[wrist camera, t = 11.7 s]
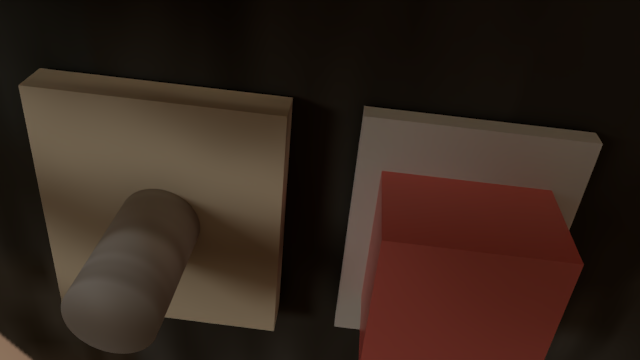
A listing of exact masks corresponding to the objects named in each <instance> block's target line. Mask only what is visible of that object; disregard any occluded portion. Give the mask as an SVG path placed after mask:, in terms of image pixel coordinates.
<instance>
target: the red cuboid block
mask: <svg viewBox="0 0 640 360" xmlns="http://www.w3.org/2000/svg"><path fill="white" fill-rule="evenodd" d="M583 266H584V264H583V262H582V259H581V257H580V255H579V252H578V250H577V248H576V245H575V243H574V241H573V238H572V236H571V234H570V231H569V229H568V227H567V224H566V222H565V220H564V218H563V215H562V213H561V211H560V208H559V206H558V204H557V201H556V199H555V197H554V194H553V192H552V190H543V189H535V188H526V187H517V186H509V185H500V184H492V183H483V182H475V181H466V180H458V179H449V178H440V177H432V176H423V175H415V174H406V173H398V172H389V171H382V172H381V178H380V184H379V190H378V197H377V203H376V209H375V215H374V221H373V227H372V233H371V240H370V246H369V252H368V258H367V264H366V270H365V276H364V282H363V289H362V295H361V317H360V340H359V360H544V359H545V356H546V354H547V352H548V349H549V347H550V344H551V342H552V340H553V337H554V335H555V333H556V330H557V328H558V325H559V323H560V321H561V318H562V316H563V313H564V311H565V309H566V306H567V304H568V301H569V299H570V297H571V294H572V292H573V290H574V287H575V285H576V282H577V280H578V278H579V275H580V273H581V270H582V268H583Z"/></svg>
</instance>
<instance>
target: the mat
mask: <svg viewBox="0 0 640 360" xmlns="http://www.w3.org/2000/svg"><path fill="white" fill-rule="evenodd" d="M602 145H603V143H602V142H601V140H600V139H599V137H598V136H597V134H596V133H593V132H584V131H576V130H567V129H558V128H550V127H541V126H533V125H524V124H515V123H507V122H498V121H490V120H481V119H472V118H464V117H455V116H447V115H438V114H429V113H421V112H412V111H404V110H395V109H387V108H378V107H369V106H364V111H363V119H362V126H361V133H360V140H359V148H358V155H357V162H356V169H355V176H354V184H353V191H352V198H351V205H350V213H349V220H348V227H347V234H346V241H345V249H344V256H343V263H342V270H341V278H340V285H339V292H338V299H337V307H336V314H335V325H334V326H337V327H344V328H352V329H360V317H361V295H362V289H363V282H364V276H365V270H366V264H367V258H368V252H369V246H370V240H371V233H372V227H373V221H374V215H375V209H376V203H377V197H378V190H379V184H380V178H381V172H382V171H389V172H398V173H406V174H415V175H423V176H432V177H440V178H449V179H458V180H466V181H475V182H483V183H492V184H500V185H509V186H517V187H526V188H535V189H543V190H552V192H553V194H554V197H555V199H556V201H557V204H558V206H559V208H560V211H561V213H562V215H563V218H564V220H565V222H566V224H567V227H568V229H569V230H570V227H571V225H572V222H573V220H574V217H575V214H576V212H577V209H578V207H579V204H580V202H581V199H582V196H583V194H584V191H585V189H586V186H587V184H588V181H589V178H590V176H591V173H592V171H593V168H594V166H595V163H596V161H597V158H598V155H599V153H600V150H601V148H602Z"/></svg>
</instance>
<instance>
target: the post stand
mask: <svg viewBox="0 0 640 360" xmlns="http://www.w3.org/2000/svg"><path fill="white" fill-rule="evenodd" d="M18 86H19V91H20V96H21V101H22V106H23V111H24V116H25V121H26V126H27V131H28V136H29V141H30V146H31V151H32V156H33V161H34V166H35V171H36V176H37V181H38V186H39V191H40V196H41V201H42V206H43V211H44V215H45V220H46V225H47V230H48V235H49V240H50V245H51V250H52V255H53V260H54V265H55V270H56V275H57V280H58V285H59V290H60V295H61V300H62V303H61V314H62V317H63V319H64V322H65V323H66V325H67V327H68V328H69V329H70V330H71V332H72V333H73V334H74V335H76V336H77V337H78V338H79V339H81V340H82V341H84V342H85V343H87V344H89V345H90V346H93V347H95V348H97V349H100V350H103V351H107V352H112V353H134V352H138V351H141V350H143V349H145V348H147V347H148V346H149V345H151V344H152V343H153V341H154V340H155V338H156V336H157V334H158V332H159V329H160V327H161V324H162V322H163V320H164V317H167V318H175V319H183V320H191V321H199V322H207V323H214V324H222V325H230V326H238V327H246V328H254V329H262V330H269V331H274V328H275V323H276V318H277V313H278V308H279V298H280V283H281V268H282V253H283V238H284V223H285V208H286V193H287V179H288V164H289V149H290V134H291V119H292V104H293V98H292V97H283V96H275V95H266V94H258V93H249V92H240V91H232V90H223V89H215V88H206V87H197V86H189V85H180V84H172V83H163V82H154V81H146V80H137V79H129V78H120V77H111V76H103V75H94V74H86V73H77V72H68V71H60V70H51V69H43V68H40V69H38V70H37V71H36V72H35V73H33V74H32V75H31V76H29V77H28V78H27V79H26V80H24V81H23V82H22V83H21V84H19V85H18Z"/></svg>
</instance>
